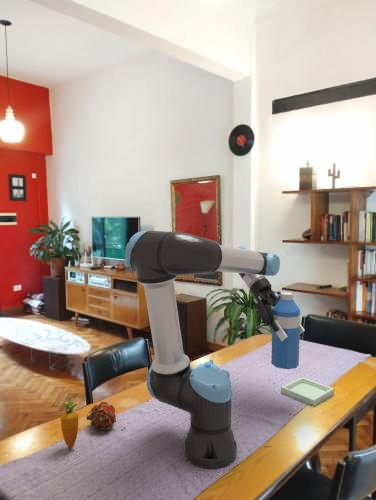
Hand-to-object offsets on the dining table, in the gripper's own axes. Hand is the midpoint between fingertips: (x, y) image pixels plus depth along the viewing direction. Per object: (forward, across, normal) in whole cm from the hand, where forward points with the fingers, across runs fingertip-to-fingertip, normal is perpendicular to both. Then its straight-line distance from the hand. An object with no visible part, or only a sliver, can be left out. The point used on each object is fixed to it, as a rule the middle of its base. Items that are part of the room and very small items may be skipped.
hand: (293, 335), depth 134 cm
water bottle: (+6, 0, -10) cm, 12 cm away
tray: (+16, -16, -22) cm, 32 cm away
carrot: (-2, +67, -40) cm, 78 cm away
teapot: (-2, +11, -41) cm, 43 cm away
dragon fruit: (-5, +54, -44) cm, 70 cm away
